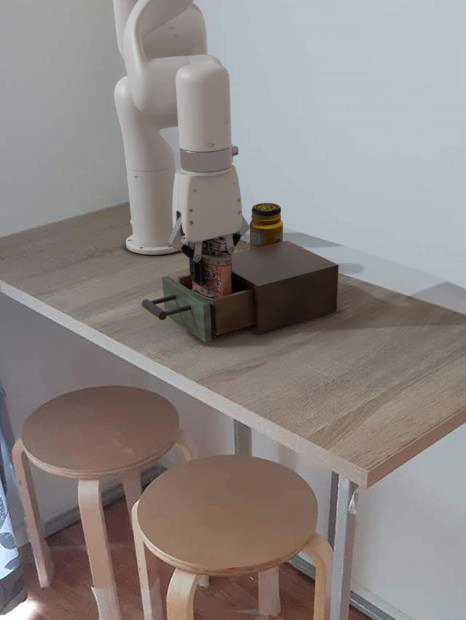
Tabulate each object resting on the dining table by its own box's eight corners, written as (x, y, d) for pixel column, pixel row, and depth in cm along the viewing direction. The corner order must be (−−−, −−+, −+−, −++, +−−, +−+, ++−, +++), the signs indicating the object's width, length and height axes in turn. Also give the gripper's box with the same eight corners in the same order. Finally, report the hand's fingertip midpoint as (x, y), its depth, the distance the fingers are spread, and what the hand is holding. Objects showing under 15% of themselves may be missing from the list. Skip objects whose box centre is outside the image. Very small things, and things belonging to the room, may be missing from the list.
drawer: (172, 352, 124) (169, 313, 121) (133, 322, 134) (129, 285, 130) (282, 320, 133) (283, 283, 129) (239, 294, 142) (238, 258, 139)
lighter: (187, 295, 133) (183, 234, 127) (201, 289, 135) (198, 228, 129) (223, 308, 128) (221, 245, 123) (237, 301, 130) (236, 239, 125)
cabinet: (258, 334, 131) (257, 286, 126) (211, 304, 141) (209, 258, 136) (336, 311, 137) (338, 264, 133) (286, 284, 148) (287, 240, 143)
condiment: (292, 272, 152) (293, 207, 145) (254, 283, 148) (253, 216, 142) (269, 261, 157) (269, 198, 150) (232, 271, 154) (230, 206, 147)
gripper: (241, 145, 126) (243, 262, 136) (143, 163, 119) (153, 284, 129) (268, 155, 120) (268, 275, 131) (167, 174, 113) (176, 299, 124)
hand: (211, 278), depth 130 cm, fingers closed on lighter, 4 cm apart
